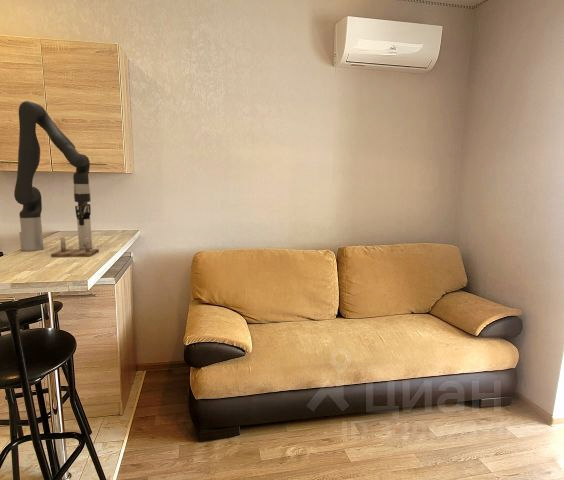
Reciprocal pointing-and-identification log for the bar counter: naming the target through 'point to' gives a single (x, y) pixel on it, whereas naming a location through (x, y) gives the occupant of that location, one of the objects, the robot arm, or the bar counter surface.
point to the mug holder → (75, 250)
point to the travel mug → (84, 231)
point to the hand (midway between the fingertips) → (84, 224)
